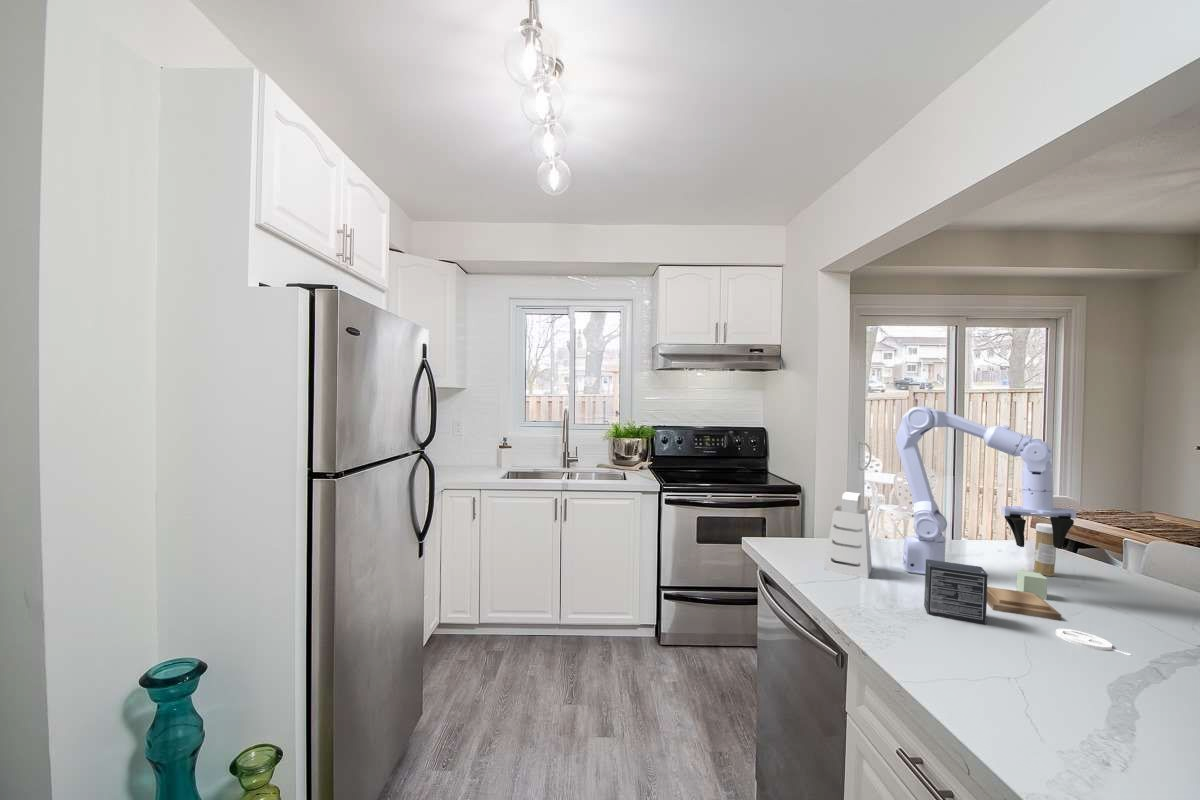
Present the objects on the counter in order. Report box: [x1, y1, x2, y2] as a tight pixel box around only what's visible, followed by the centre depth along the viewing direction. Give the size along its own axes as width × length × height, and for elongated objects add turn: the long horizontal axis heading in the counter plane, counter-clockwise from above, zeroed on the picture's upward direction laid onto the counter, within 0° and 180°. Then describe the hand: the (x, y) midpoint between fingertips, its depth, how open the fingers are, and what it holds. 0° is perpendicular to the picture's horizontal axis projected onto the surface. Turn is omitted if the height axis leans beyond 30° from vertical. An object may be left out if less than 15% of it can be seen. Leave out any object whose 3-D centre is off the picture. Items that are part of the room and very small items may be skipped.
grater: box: [823, 491, 873, 579], centre depth 143 cm, size 10×10×20 cm
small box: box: [923, 559, 989, 625], centre depth 115 cm, size 11×6×10 cm, turn 65°
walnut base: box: [987, 586, 1062, 621], centre depth 122 cm, size 12×12×2 cm
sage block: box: [1015, 569, 1049, 601], centre depth 129 cm, size 4×4×5 cm
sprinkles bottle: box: [1033, 522, 1057, 577], centre depth 146 cm, size 5×5×14 cm
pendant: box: [1055, 628, 1133, 657], centre depth 103 cm, size 7×11×1 cm, turn 37°
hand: (1038, 547), depth 128 cm, fingers open, 7 cm apart
